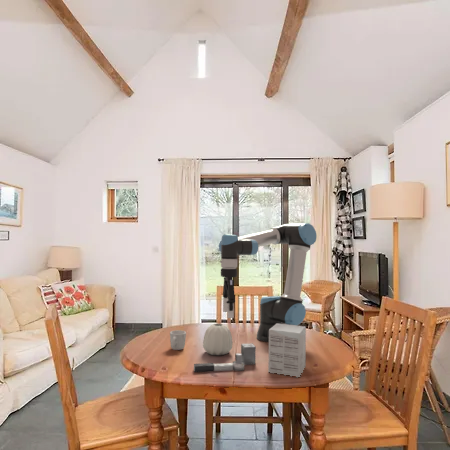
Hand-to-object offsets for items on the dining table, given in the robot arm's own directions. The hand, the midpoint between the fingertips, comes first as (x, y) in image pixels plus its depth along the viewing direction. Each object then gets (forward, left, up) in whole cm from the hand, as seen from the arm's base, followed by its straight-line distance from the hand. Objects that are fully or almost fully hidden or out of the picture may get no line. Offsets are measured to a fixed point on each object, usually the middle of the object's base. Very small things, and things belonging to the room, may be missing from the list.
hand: (228, 314), depth 163 cm
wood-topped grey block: (-8, +7, -20) cm, 22 cm away
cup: (+22, -16, -20) cm, 34 cm away
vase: (+3, -8, -20) cm, 22 cm away
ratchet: (+6, +14, -20) cm, 25 cm away
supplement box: (-22, +18, -20) cm, 35 cm away
